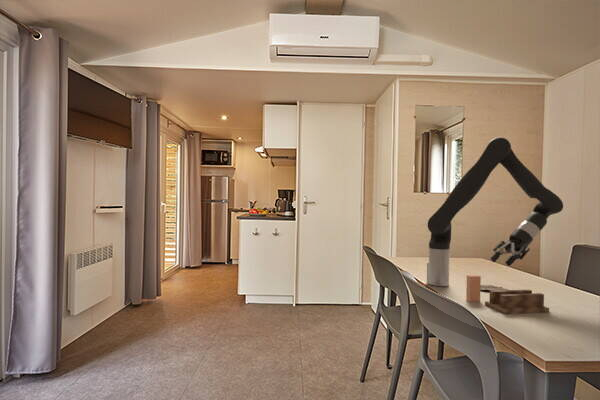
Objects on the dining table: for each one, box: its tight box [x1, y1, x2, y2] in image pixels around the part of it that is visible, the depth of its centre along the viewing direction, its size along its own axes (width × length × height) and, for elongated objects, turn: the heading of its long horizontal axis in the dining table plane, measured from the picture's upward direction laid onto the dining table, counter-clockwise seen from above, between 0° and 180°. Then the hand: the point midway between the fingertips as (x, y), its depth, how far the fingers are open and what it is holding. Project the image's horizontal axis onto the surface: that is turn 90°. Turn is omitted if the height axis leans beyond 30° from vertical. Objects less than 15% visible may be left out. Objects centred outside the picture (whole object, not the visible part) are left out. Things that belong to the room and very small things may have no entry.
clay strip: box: [465, 274, 482, 303], centre depth 149 cm, size 4×2×10 cm, turn 100°
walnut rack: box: [484, 288, 550, 315], centre depth 139 cm, size 18×11×6 cm, turn 100°
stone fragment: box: [480, 284, 509, 291], centre depth 162 cm, size 25×3×10 cm
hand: (499, 262), depth 151 cm, fingers open, 8 cm apart
